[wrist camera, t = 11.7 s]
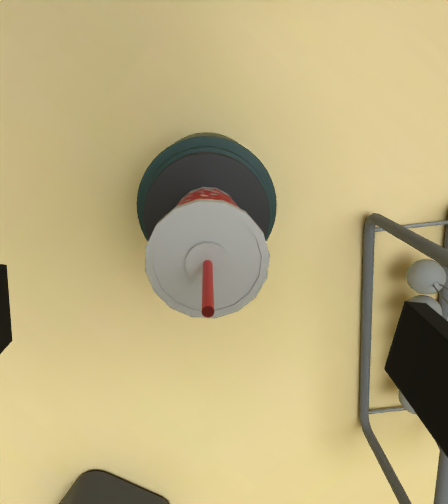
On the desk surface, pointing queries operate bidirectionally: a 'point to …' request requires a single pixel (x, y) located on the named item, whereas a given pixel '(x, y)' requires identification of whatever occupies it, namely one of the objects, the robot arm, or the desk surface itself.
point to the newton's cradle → (420, 280)
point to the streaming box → (108, 491)
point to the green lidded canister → (206, 179)
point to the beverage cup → (207, 255)
